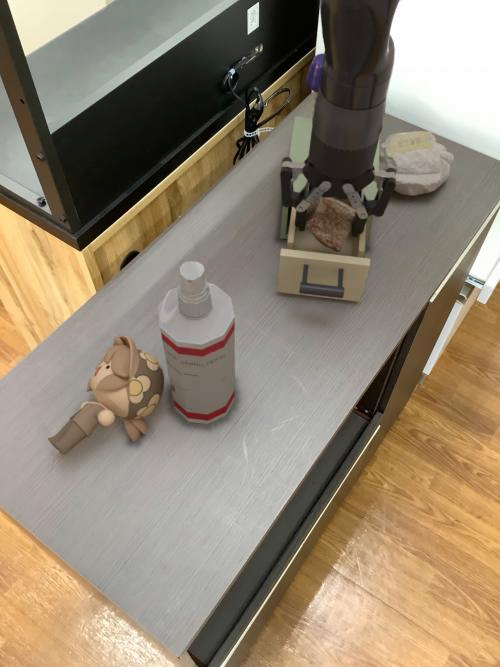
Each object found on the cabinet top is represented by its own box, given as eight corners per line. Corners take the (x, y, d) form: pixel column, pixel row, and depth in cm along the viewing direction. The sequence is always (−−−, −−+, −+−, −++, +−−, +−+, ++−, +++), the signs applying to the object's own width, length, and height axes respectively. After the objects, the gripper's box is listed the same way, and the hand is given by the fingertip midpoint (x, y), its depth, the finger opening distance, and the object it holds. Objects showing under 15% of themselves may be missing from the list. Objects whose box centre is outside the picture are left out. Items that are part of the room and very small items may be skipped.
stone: (317, 260, 83) (347, 252, 79) (290, 232, 80) (320, 222, 76) (333, 221, 86) (362, 211, 83) (308, 192, 83) (337, 181, 80)
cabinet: (365, 248, 91) (378, 200, 83) (279, 238, 92) (284, 190, 84) (368, 174, 100) (380, 125, 92) (290, 166, 100) (294, 116, 92)
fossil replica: (459, 187, 99) (413, 156, 104) (476, 141, 93) (425, 111, 97) (407, 216, 94) (361, 182, 99) (420, 169, 88) (370, 136, 92)
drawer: (358, 328, 83) (369, 292, 76) (273, 317, 83) (276, 281, 77) (363, 223, 93) (372, 184, 86) (287, 215, 93) (290, 175, 87)
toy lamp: (318, 164, 101) (331, 72, 87) (292, 153, 102) (302, 61, 88) (331, 147, 103) (346, 54, 89) (307, 137, 104) (318, 44, 90)
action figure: (18, 407, 72) (117, 328, 78) (77, 475, 76) (168, 394, 81) (33, 419, 64) (144, 328, 69) (99, 495, 67) (200, 402, 72)
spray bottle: (166, 418, 76) (140, 296, 55) (178, 366, 80) (158, 233, 59) (230, 426, 75) (228, 307, 54) (238, 373, 80) (240, 243, 59)
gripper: (412, 109, 70) (383, 214, 84) (285, 97, 71) (277, 203, 85) (413, 154, 66) (382, 257, 80) (278, 140, 67) (270, 244, 81)
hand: (328, 229), depth 82 cm, fingers closed on stone, 6 cm apart
